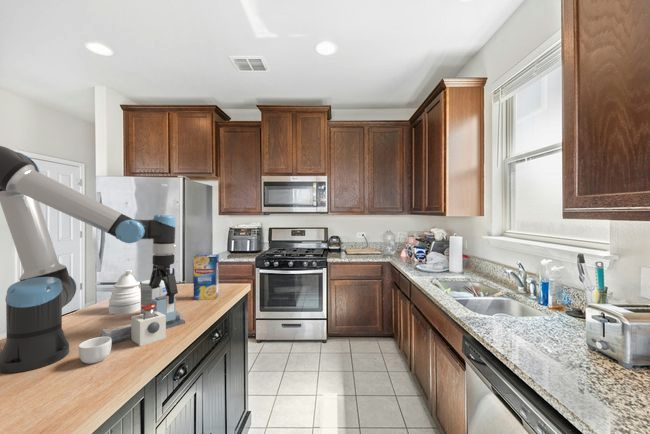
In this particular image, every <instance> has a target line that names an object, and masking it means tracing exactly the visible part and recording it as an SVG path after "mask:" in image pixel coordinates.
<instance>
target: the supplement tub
mask: <svg viewBox="0 0 650 434" xmlns="http://www.w3.org/2000/svg"><path fill="white" fill-rule="evenodd" d="M149 283H150V279H147V280H142V281H141V282H140V291H141V306H142V305H144V304H149V303H151V291H152V289H151V286H149ZM159 285H160V287H158V288H159V297H161V296H166V294H167V291H166V288H165V284H164V281H163V280H161V282H160V284H159ZM140 314H143V309H141V310H140Z"/></svg>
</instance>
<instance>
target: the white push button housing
mask: <svg viewBox="0 0 650 434" xmlns="http://www.w3.org/2000/svg"><path fill="white" fill-rule="evenodd" d="M130 319H131V322H130V324H131V339H130V340H131V341H132V342H134V343H135V344H137V345H138V346H139V347H143V346H145V345H148V344H152V343H156V342H159V341H162V340H164V339H167V328H166V315H164V314H162V313H160V312H158V311H154V317H152V318H148V319H144V320H143V314H141V313H140V314H138V315H137V314H136V315H133V316H132V315H131V318H130Z"/></svg>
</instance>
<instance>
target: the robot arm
mask: <svg viewBox="0 0 650 434" xmlns="http://www.w3.org/2000/svg"><path fill="white" fill-rule="evenodd" d="M40 203H41V204H43V205H44V206H45V205H46V206H47V207H49V208H51V209H53V210H56V211H59V212H61V213H62V214H65V215H67V216H68V217H69V216H70V217H71V218H74V219H76V220H78V221H80V222H83V223H85V224H87V225H89V226H91V227H93V228H96V229H98V230H100V231H102V232H105V233H106V234H109V235H111V236H113V237H115V239H117V240H119V241H121V242H122V243H125V244H134V243H137V242H139V241H140V240H152V254H153V255H152V271H151V274H150V275H151V276H150V279H149V280H150V283H149V286H151V289H152V291H151V303H152V299H155V298H156V297H159V288H158V287H160V285H159V284H160V282H161V280H163V281H164V284H165V288H166V313H169V312H174V297H175V295H176V294H179V291H178V287H177V286H178V284H177V281H176V280H177V279H176V274H175V268H174V267H172V268H171V265H174V264H175V248H176V242H175V241H176V217H175V216H174V215H172V214H170V215H169V214H154V216H153V219H135V218H134V219H133V218H132V217H129V216H127V215H125V214H123V213H121V212H119V211H117V210H115V209H113V208H111V207H109V206H107V205H105V204H103V203H101V202H100V201H97V200H95V199H93V198H92V197H89V196H88V195H85V194H83V193H81V192H79V191H77V190H75V189H73V188H71V187H69V186H67V185H65V184H63V183H61V182H59V181H57V180H55V179H53V178H51V177H49V176H47V175H45V174H43V173H41V172H40V167H39V166H38V165H37V163H36V162H35V160H32V159H31V157H29V156H27V155H26V154H23V153H21V152H17V151H14V150H12V149H10V148H8V147H6V146H3V145H0V206H1V209H2V213H3V215H4V218H5V220H6V224H7V226H8V230H9V233H10V235H11V239H12V240H13V244H14V247H15V250H16V253H17V255H18V259H19V261H20V264H21V268H22V271H23V273H22V274H21V275H20V277H19V278H18V279H19V281H17V282H14V283H12V284H10V285H9V286H8V288H7V290H6V294H5V298H4V299H5V303H6V304H5V305H6V306H5V309H6V311H5V312H6V313H5V314H6V315H5V316H6V317H5V318H6V324H5V325H6V338H5V339H6V340H5V342H4V344H3V347H2V348H1V352H0V373H3V374H4V373H5V374H11V373H20V372H26V371H27V372H28V371H31V370H35V369H39V368H42V367H45V366H48V365H51V364H53V363H55V362H58V361H60V360H62V359H64V358H65V357H66V356H68V355H69V353H70V343H69V341H68V339H67V336H66V335H65V333H64V330H63V327H62V326H63V325H62V324H63V318H62V317H63V308H64V307H65V306H67V305H68V304H69V303H70V302H71V301H72V300H73V299H74V297H75V295H76V292H77V283H76V281H75V279H74V278H73V277H72V276H71V275H70V274H69V270H68V268H67V266H66V265H65V264H62V263H60V262H59V259H58V256H57V253H56V250H55V247H54V244H53V240H52V238H51V236H50V232H49V229H48V225H47V223H46V220H45V219H46V218H45V217H44V214H43V211H42V207H41V205H40Z"/></svg>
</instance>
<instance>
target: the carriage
mask: <svg viewBox="0 0 650 434" xmlns="http://www.w3.org/2000/svg"><path fill="white" fill-rule="evenodd" d="M176 302H177V301H176V296H174V312H169V313H166V296H161V297H156V298H155V299H152V303H155V304H156V307H155V308H154V311H158V312H160V313H162V314H164V315H166V322H167V321H170V320H174V319H176Z"/></svg>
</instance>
